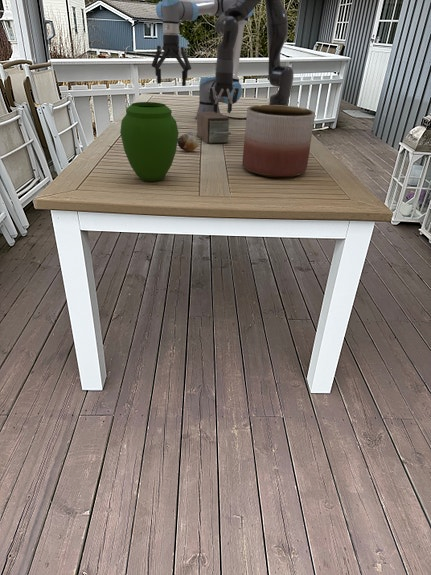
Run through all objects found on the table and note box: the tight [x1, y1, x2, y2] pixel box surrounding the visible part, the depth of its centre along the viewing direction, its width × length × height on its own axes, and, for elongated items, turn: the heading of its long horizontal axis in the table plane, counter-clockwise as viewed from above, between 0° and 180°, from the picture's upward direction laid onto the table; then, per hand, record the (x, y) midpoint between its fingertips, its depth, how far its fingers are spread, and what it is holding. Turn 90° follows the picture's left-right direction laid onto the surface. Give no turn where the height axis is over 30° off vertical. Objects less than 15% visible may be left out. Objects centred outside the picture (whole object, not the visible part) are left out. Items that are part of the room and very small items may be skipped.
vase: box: [119, 101, 179, 182], centre depth 140 cm, size 20×20×24 cm
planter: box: [242, 104, 316, 179], centre depth 156 cm, size 25×25×22 cm
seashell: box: [177, 131, 200, 152], centre depth 179 cm, size 10×6×8 cm, turn 97°
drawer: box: [209, 120, 232, 142], centre depth 197 cm, size 22×9×10 cm, turn 19°
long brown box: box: [196, 112, 230, 145], centre depth 201 cm, size 17×10×11 cm, turn 19°
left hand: (171, 84), depth 203 cm, fingers open, 13 cm apart
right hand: (222, 112), depth 186 cm, fingers open, 5 cm apart
